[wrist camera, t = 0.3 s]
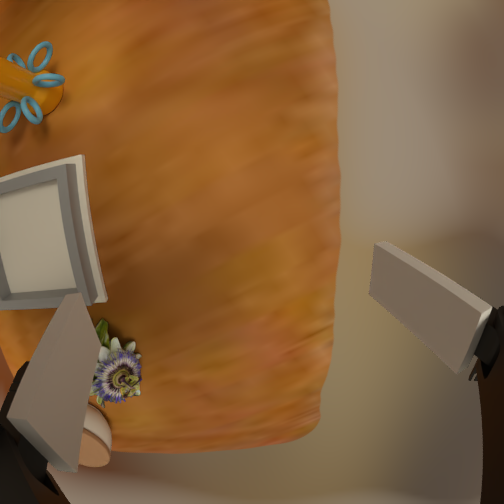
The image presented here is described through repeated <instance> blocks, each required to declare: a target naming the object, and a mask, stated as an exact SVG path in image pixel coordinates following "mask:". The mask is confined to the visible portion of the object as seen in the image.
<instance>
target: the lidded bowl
mask: <svg viewBox="0 0 504 504" xmlns="http://www.w3.org/2000/svg"><path fill="white" fill-rule="evenodd" d="M111 446H112V435H111V430H110V427H109V425H108V423H107V421H106V420H105V418H104V417H103V415H102V413H101V412H100V411H99V410H98V409H97V408H96V407H94V406H92V405H91V404H88V405H87V410H86V415H85V421H84V426H83V433H82V439H81V446H80V453H79V461H78V464H82V465H86V466H91V467H100V466H104V465H106V464H107V463H108V462H109V461H110V456H111V453H110V452H111Z"/></svg>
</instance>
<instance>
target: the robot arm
mask: <svg viewBox="0 0 504 504" xmlns="http://www.w3.org/2000/svg"><path fill="white" fill-rule="evenodd" d="M369 295H370V296H371V297H373V298H374V299H375V300H376V301H377V302H378V303H379V304H381V305H382V306H383V307H384V308H385V309H386V310H387V311H389V312H390V313H391V314H392V315H393V316H394V317H395V318H396V319H398V320H399V321H400V322H401V323H402V324H403V325H404V326H405V327H406V328H408V329H409V330H410V331H411V332H412V333H413V334H414V335H415V336H416V337H418V339H420V340H421V341H422V342H423V343H424V344H425V345H426V346H427V347H428V348H429V349H430V350H432V351H433V352H434V353H435V354H436V355H437V356H438V357H439V358H440V359H441V360H442V361H443V362H444V363H445V364H446V365H447V366H449V367H450V368H451V369H452V370H453V371H454V372H455V373H456V374H458V373H459V372H461V371H462V370H464V369H465V368H467V367H468V366H469V364H470V362H471V360H472V357H473V355H476V356H477V357H478V359H477V361H476V364H475V366H474V368H473V370H472V372H471V374H470V376H469V381H471V379H472V377H473V375H474V374H476V373H477V376H476V377H475V379H474V381H478V386H479V394H480V404H481V415H482V431H483V475H482V492H481V502H480V504H504V306H501V307H499V309H498V310H497V309H496V308H494V307H493V306H491V305H490V304H488V303H487V302H485V301H484V300H482V299H481V298H479V297H478V296H476V295H475V294H473V293H472V292H470V291H469V290H467V289H466V288H464V287H463V286H461V285H459V284H458V283H456V282H454V281H453V280H451V279H449V278H448V277H446V276H445V275H443V274H441V273H440V272H438V271H436V270H435V269H433V268H431V267H430V266H428V265H426V264H425V263H423V262H422V261H420V260H418V259H416V258H415V257H413V256H411V255H410V254H408V253H406V252H404V251H403V250H401V249H399V248H397V247H395V246H394V245H392V244H390V243H389V242H387V241H386V242H380V243H375V244H374V252H373V263H372V273H371V281H370V290H369ZM100 349H101V343H100V340H99V338H98V336H97V333H96V331H95V328H94V326H93V323H92V321H91V318H90V316H89V313H88V310H87V308H86V305H85V302H84V299H83V297H82V294H81V293H74V294H67V295H65V297H64V299H63V300H62V302H61V304H60V306H59V307H58V309H57V311H56V313H55V314H54V316H53V318H52V320H51V321H50V323H49V325H48V327H47V329H46V331H45V333H44V334H43V336H42V338H41V340H40V342H39V344H38V346H37V348H36V350H35V352H34V354H33V356H32V358H31V360H30V361H26V362H25V363H24V364H23V366H22V367H21V368H20V369H19V370H18V371H17V373H16V376H15V378H14V380H13V383H12V384H11V387H10V389H9V391H10V392H8V393H7V396H6V398H5V401H4V403H3V405H2V408H1V411H0V504H70V502H69V501H68V499H67V498H66V497H65V495H64V494H63V492H62V491H61V489H60V488H59V486H58V484H57V483H56V481H55V480H54V478H53V477H52V475H51V474H50V473H49V472H48V471H47V470H46V469H47V463H48V462H49V463H50V464H51V465H52V466H53V467H54V468H56V469H57V470H59V471H66V472H75V473H76V472H77V469H78V461H79V453H80V446H81V439H82V433H83V426H84V421H85V415H86V410H87V405H88V400H89V395H90V390H91V386H92V381H93V377H94V373H95V368H96V364H97V360H98V357H99V353H100Z"/></svg>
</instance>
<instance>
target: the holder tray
mask: <svg viewBox="0 0 504 504" xmlns="http://www.w3.org/2000/svg"><path fill="white" fill-rule="evenodd" d="M74 293H81V294H82V297H83V299H84V302H85V305H86V306H92V304H93V303H101V302H107V300H108V297H107V293H106V289H105V284H104V280H103V276H102V271H101V267H100V262H99V257H98V252H97V247H96V242H95V236H94V230H93V224H92V218H91V211H90V204H89V196H88V187H87V178H86V167H85V155H77V156H73V157H69V158H65V159H61V160H57V161H53V162H49V163H46V164H42V165H39V166H35V167H32V168H28V169H25V170H22V171H19V172H16V173H12V174H9V175H6V176H4V177H1V178H0V310H19V309H42V308H58V307H59V306H60V304H61V302H62V300H63V299H64V297H65V295H67V294H74Z"/></svg>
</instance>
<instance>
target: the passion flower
mask: <svg viewBox="0 0 504 504" xmlns="http://www.w3.org/2000/svg"><path fill="white" fill-rule="evenodd" d="M91 321H92V318H91ZM95 331H96V333H97V336H98V338H99V340H100V343H101V349H100V353H99V357H98V360H97V364H96V368H95V373H94V377H93V382H92V386H91V390H90V395H89V396H93V395H98V396H97V403H98V404H99V405H100V404H101V406H102V407H103V408H105V405H104V401H108V400H109V401H110V402H114V401H115V403H117V401H119V402H120V403H121V400H124V401H125V398H127V397H129V396H130V397H132V396H139V395H140V394H141V393H140V390H139V389H140V381H141V380H142V378H141V375H140V368H141V367H142V366H141V365H140V363H139V359H140V357H142V356H141V355H140V354H139V353H133V352H134V350H135V345H136V344H135V342H134V341H129V342H127V343H126V344H125V345H124V346H123V348H122V347H121V346H120V343H119V339H118V338H117V337H114V338H112V339H111V340H110V341H109V335H108V322H106V321H104V319H101V320H100V322H99V323H98V324H97V326H96V328H95Z"/></svg>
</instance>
